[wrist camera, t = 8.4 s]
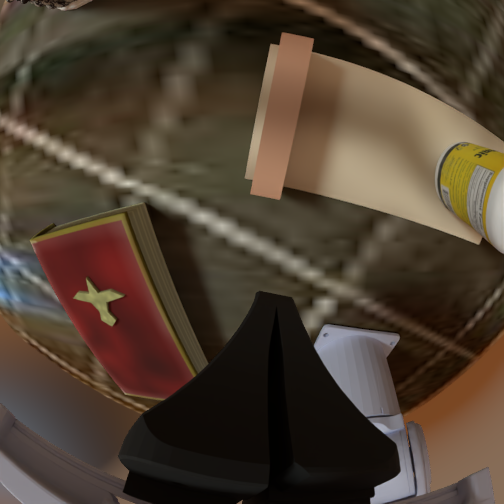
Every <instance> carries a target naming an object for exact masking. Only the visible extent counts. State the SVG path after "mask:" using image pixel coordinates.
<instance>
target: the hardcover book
mask: <svg viewBox="0 0 504 504" xmlns="http://www.w3.org/2000/svg"><path fill="white" fill-rule="evenodd" d="M30 242H31V244H32V246H33V249H34V251H35V253H36V255H37V258H38V260H39V262H40V264H41V266H42V268H43V270H44V272H45V274H46V276H47V278H48V280H49V282H50V284H51V286H52V288H53V290H54V292H55V293H56V295H57V297H58V299H59V301H60V302H61V304H62V306H63V308H64V309H65V311H66V313H67V314H68V316H69V318H70V319H71V321H72V322H73V324H74V326H75V327H76V329H77V330H78V332H79V333H80V335H81V336H82V338H83V339H84V341H85V342H86V344H87V345H88V347H89V348H90V350H91V351H92V352H93V354H94V355H95V356H96V358H97V359H98V361H99V362H100V363H101V365H102V366H103V367H104V369H105V370H106V371H107V372H108V374H109V375H110V376H111V377H112V379H113V380H114V381H115V382H116V384H117V385H118V386H119V387H120V388H121V390H122V391H123V392H124V393H125V394H126V395H130V396H136V397H142V398H149V399H156V400H165V399H166V398H168V397H169V396H171V395H172V394H173V393H175V392H176V391H177V390H179V389H180V388H181V387H182V386H184V385H185V384H186V383H188V382H189V381H190V380H191V379H193V378H194V377H195V376H196V375H197V374H198V373H199V372H200V371H201V370H203V369H204V368H205V367H206V366H207V365H208V364H209V363H208V361H207V359H206V357H205V355H204V353H203V351H202V349H201V347H200V344H199V342H198V340H197V338H196V336H195V333H194V331H193V329H192V327H191V324H190V322H189V320H188V317H187V315H186V313H185V310H184V308H183V305H182V303H181V301H180V298H179V296H178V293H177V291H176V288H175V286H174V283H173V281H172V278H171V276H170V273H169V270H168V268H167V265H166V262H165V260H164V257H163V254H162V252H161V249H160V246H159V243H158V240H157V238H156V235H155V232H154V229H153V226H152V223H151V220H150V217H149V214H148V211H147V208H146V204H145V202H143V203H139V204H135V205H131V206H127V207H123V208H119V209H115V210H111V211H108V212H104V213H100V214H97V215H93V216H90V217H86V218H83V219H79V220H76V221H73V222H69V223H66V224H63V225H60V226H57V227H55V225H54V223H53V224H51V225H49V226H48V227H46V228H45V229H43V230H42V231H40V232H39V233H38V234H36V235H35V236H34V237H32V238H31V239H30Z"/></svg>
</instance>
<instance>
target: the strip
mask: <svg viewBox="0 0 504 504" xmlns="http://www.w3.org/2000/svg"><path fill="white" fill-rule="evenodd" d="M313 42H314V39H312V38H308V37H303V36H299V35H294V34H288V33H283V32H282V36H281V40H280V45H275V44H271V45H270V50H269V54H268V59H267V64H266V69H265V74H264V79H263V84H262V89H261V94H260V99H259V105H258V110H257V115H256V120H255V125H254V131H253V136H252V142H251V147H250V152H249V158H248V163H247V169H246V175H245V179H250V180H253V183H252V188H251V193H250V194H254V195H258V196H263V197H268V198H273V199H278V200H280V197H281V193H282V188H283V186H284V187H289V188H293V189H298V190H302V191H306V192H310V193H315V194H319V195H323V196H327V197H331V198H335V199H339V200H342V201H346V202H350V203H354V204H357V205H361V206H364V207H368V208H371V209H375V210H378V211H382V212H385V213H388V214H392V215H395V216H398V217H402V218H405V219H408V220H411V221H414V222H417V223H420V224H423V225H426V226H429V227H432V228H435V229H438V230H441V231H444V232H446V233H449V234H452V235H455V236H457V237H460V238H463V239H465V240H468V241H471V242H473V243H476V244H478V245H479V244H480V242H481V239H482V236H481V235H480V234H479V233H477V232H476V231H475V230H474V229H473V228H471V227H470V226H469V225H468V224H466V223H465V222H464V221H463V220H461V219H460V218H459V217H457V216H456V215H455V214H453V213H452V212H451V211H450V210H448V209H447V208H446V207H445V206H444V205H443V204H442V202H441V201H440V199H439V197H438V194H437V191H436V187H435V171H436V166H437V163H438V160H439V158H440V156H441V154H442V153H443V151H444V150H445V149H446V148H447V147H448V146H450V145H452V144H454V143H457V142H468V143H472V144H475V145H479V146H482V147H486V148H489V149H492V150H495V151H498V152H501V153H504V142H503V141H502V140H500V139H499V138H498V137H496V136H495V135H494V134H492V133H491V132H490V131H488V130H487V129H485V128H484V127H482V126H481V125H479V124H478V123H476V122H475V121H473V120H472V119H470V118H469V117H467V116H465V115H464V114H462V113H461V112H459V111H457V110H456V109H454V108H452V107H450V106H449V105H447V104H445V103H443V102H441V101H440V100H438V99H436V98H434V97H432V96H430V95H428V94H426V93H424V92H422V91H420V90H418V89H416V88H414V87H412V86H410V85H407V84H405V83H403V82H401V81H398V80H396V79H393V78H391V77H389V76H386V75H384V74H381V73H378V72H376V71H373V70H370V69H368V68H365V67H362V66H359V65H356V64H353V63H350V62H347V61H343V60H340V59H337V58H333V57H329V56H326V55H322V54H318V53H314V52H312V47H313Z"/></svg>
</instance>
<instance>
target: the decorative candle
mask: <svg viewBox="0 0 504 504" xmlns="http://www.w3.org/2000/svg"><path fill="white" fill-rule="evenodd" d="M6 1H7V2H12V1H14V0H6ZM17 1H21V3H22V4H26V3H27V2H28V1H30V2H31V3H32V4H35V5H36V6H37V7H42V6H47V7H48V8H49V9H55V8H59V9H61V10H63V11H66V10H72V9H77V8H79V7H81V6H83V5H85V4H87V3H89V2H91V1H92V0H17Z"/></svg>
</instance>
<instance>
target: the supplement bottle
mask: <svg viewBox="0 0 504 504" xmlns="http://www.w3.org/2000/svg"><path fill="white" fill-rule="evenodd" d="M435 187H436V191H437V194H438V197H439V199H440V201H441V202H442V204H443V205H444V206H445V207H446V208H447V209H448V210H450V211H451V212H452V213H453V214H455V215H456V216H457V217H459V218H460V219H461V220H463V221H464V222H465V223H466V224H468V225H469V226H470V227H471V228H473V229H474V230H475V231H476V232H477V233H479V234H480V235H481V236H482V237H483V238H484V239H486V240H487V241H488V242H489V243H490V244H491V245H492V246H494V247H495V248H496V249H497V250H498V251H500V252H501V253H503V254H504V153H501V152H498V151H495V150H492V149H489V148H486V147H482V146H479V145H475V144H472V143H468V142H457V143H454V144H452V145H450V146H448V147H447V148H446V149H445V150H444V151H443V153H442V154H441V156H440V158H439V160H438V163H437V166H436V171H435Z"/></svg>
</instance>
